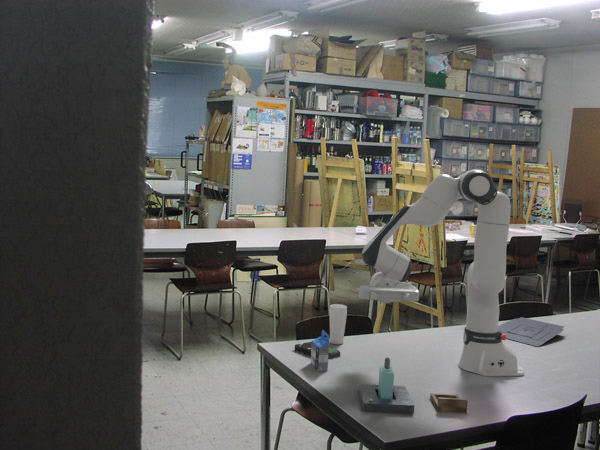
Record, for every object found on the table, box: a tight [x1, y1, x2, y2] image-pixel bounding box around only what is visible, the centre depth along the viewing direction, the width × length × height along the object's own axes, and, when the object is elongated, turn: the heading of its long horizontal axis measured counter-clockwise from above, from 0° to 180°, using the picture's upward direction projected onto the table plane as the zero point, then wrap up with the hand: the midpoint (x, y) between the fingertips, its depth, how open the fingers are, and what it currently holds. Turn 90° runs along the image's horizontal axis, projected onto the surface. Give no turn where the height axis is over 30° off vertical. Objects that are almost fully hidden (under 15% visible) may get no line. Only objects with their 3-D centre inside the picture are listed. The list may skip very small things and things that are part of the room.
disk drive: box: [294, 341, 341, 360], centre depth 234 cm, size 10×3×15 cm
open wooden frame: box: [429, 392, 469, 414], centre depth 188 cm, size 8×11×4 cm
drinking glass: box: [329, 303, 348, 345], centre depth 248 cm, size 7×7×15 cm
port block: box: [358, 383, 415, 415], centre depth 188 cm, size 14×16×3 cm
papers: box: [498, 316, 565, 347], centre depth 277 cm, size 24×30×4 cm
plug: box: [377, 357, 395, 399], centre depth 188 cm, size 4×6×14 cm, turn 0°
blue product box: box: [310, 329, 330, 372], centre depth 217 cm, size 9×4×12 cm, turn 16°
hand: (391, 298), depth 205 cm, fingers open, 8 cm apart
